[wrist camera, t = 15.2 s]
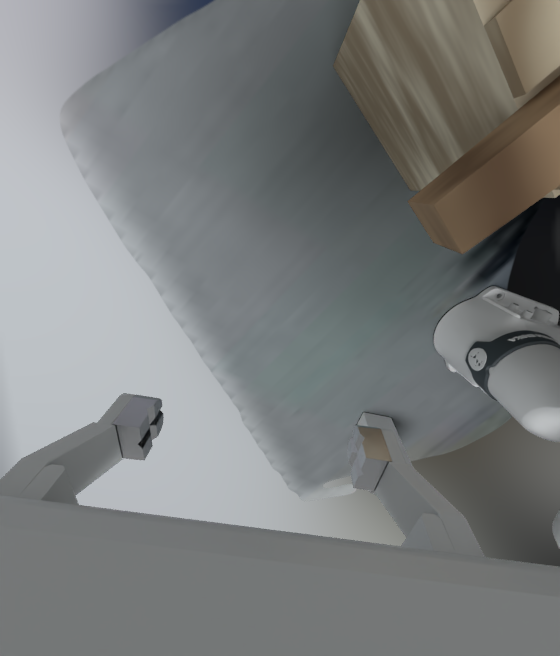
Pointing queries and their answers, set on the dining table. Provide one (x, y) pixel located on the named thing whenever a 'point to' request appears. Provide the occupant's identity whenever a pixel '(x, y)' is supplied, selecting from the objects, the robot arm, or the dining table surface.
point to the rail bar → (495, 176)
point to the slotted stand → (446, 73)
